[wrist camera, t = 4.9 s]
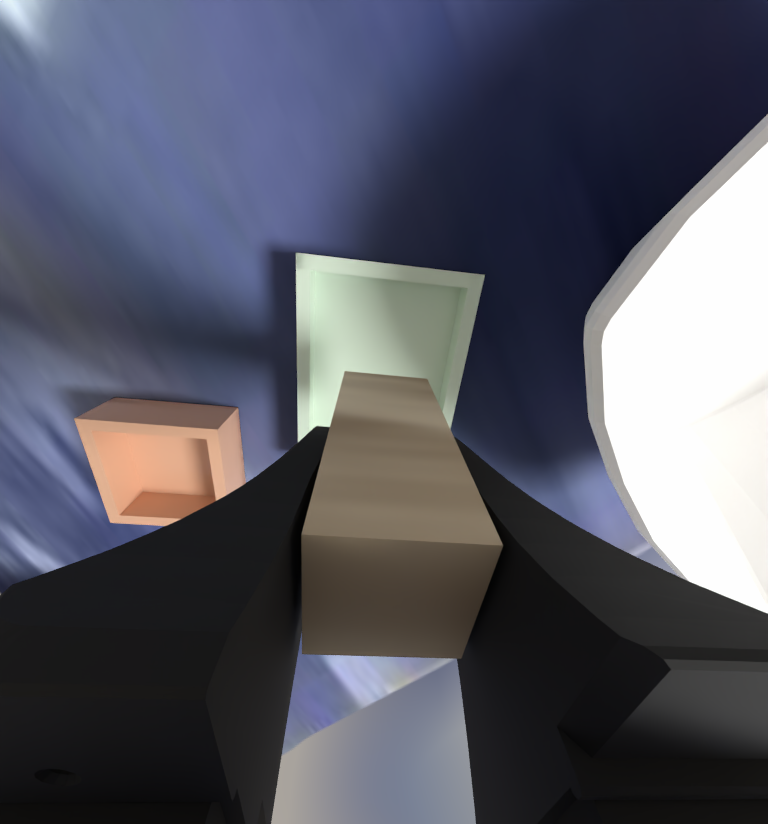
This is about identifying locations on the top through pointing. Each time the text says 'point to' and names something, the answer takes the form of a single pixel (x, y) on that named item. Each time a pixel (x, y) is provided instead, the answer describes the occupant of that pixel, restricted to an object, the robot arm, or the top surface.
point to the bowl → (693, 378)
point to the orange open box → (161, 457)
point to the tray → (379, 328)
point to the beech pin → (393, 529)
